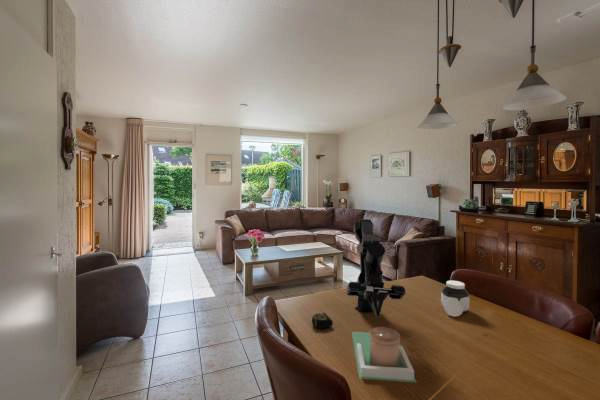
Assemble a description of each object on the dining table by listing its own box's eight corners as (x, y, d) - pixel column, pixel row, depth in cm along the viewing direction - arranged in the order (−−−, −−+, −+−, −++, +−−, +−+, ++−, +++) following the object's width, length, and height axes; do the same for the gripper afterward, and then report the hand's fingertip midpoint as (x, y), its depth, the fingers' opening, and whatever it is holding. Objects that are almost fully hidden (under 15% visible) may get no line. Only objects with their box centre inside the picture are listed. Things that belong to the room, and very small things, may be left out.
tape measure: (333, 329, 105) (333, 319, 105) (315, 331, 103) (315, 321, 103) (326, 320, 112) (326, 311, 111) (309, 323, 109) (309, 313, 109)
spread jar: (460, 306, 125) (461, 280, 125) (477, 318, 114) (478, 289, 114) (433, 306, 125) (434, 280, 125) (448, 318, 114) (448, 289, 113)
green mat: (351, 332, 102) (351, 331, 102) (394, 335, 101) (394, 333, 101) (359, 379, 77) (359, 378, 77) (416, 383, 76) (416, 382, 76)
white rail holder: (356, 351, 90) (356, 343, 90) (402, 353, 89) (402, 346, 89) (361, 376, 78) (361, 367, 78) (413, 380, 77) (414, 371, 76)
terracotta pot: (380, 352, 89) (380, 324, 89) (405, 366, 83) (406, 335, 82) (362, 363, 84) (363, 333, 83) (388, 378, 77) (389, 345, 77)
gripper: (393, 282, 108) (399, 326, 98) (343, 278, 109) (345, 321, 99) (402, 269, 100) (410, 315, 90) (348, 265, 100) (350, 310, 90)
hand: (377, 316), depth 92 cm, fingers closed
